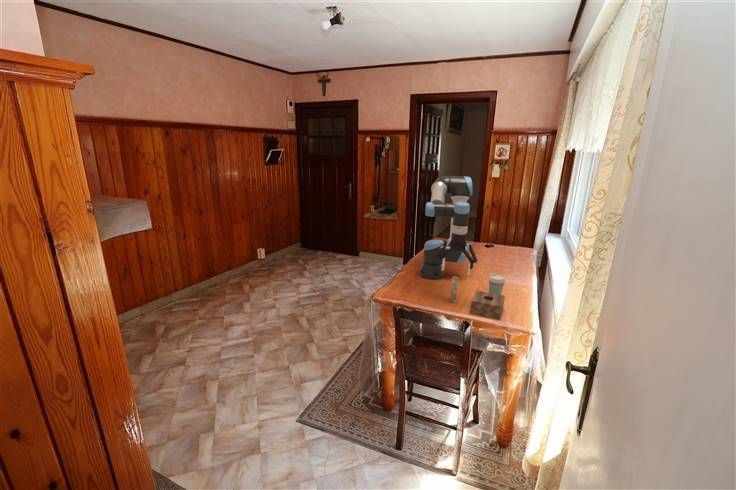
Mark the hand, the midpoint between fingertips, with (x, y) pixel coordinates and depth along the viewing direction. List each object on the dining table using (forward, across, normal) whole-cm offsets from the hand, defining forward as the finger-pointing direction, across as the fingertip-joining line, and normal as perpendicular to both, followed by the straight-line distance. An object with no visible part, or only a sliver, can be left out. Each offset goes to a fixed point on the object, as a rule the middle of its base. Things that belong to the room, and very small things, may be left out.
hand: (455, 272), depth 176 cm
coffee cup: (+17, +19, +18) cm, 31 cm away
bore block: (+17, +18, -2) cm, 25 cm away
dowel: (+17, 0, 0) cm, 17 cm away
